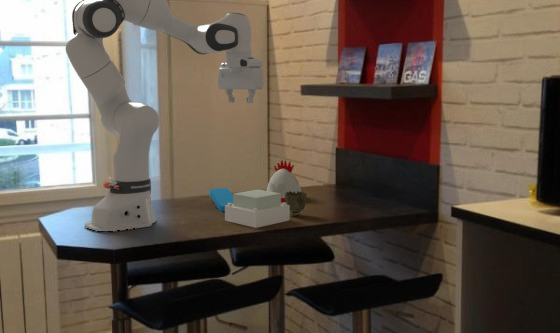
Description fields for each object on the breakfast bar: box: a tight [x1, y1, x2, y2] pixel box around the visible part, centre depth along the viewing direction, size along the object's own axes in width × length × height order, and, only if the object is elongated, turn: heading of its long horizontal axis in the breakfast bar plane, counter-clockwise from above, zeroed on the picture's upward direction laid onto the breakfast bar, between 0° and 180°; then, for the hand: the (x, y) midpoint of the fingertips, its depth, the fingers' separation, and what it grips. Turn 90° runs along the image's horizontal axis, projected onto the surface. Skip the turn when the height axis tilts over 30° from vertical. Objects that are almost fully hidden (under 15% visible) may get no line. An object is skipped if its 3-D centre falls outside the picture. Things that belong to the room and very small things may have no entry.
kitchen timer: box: [265, 160, 302, 203], centre depth 247 cm, size 14×14×15 cm
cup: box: [285, 190, 307, 217], centre depth 216 cm, size 8×7×8 cm
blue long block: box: [208, 187, 233, 213], centre depth 234 cm, size 7×7×18 cm
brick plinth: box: [224, 189, 291, 229], centre depth 209 cm, size 15×15×9 cm
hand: (240, 102), depth 220 cm, fingers open, 8 cm apart
